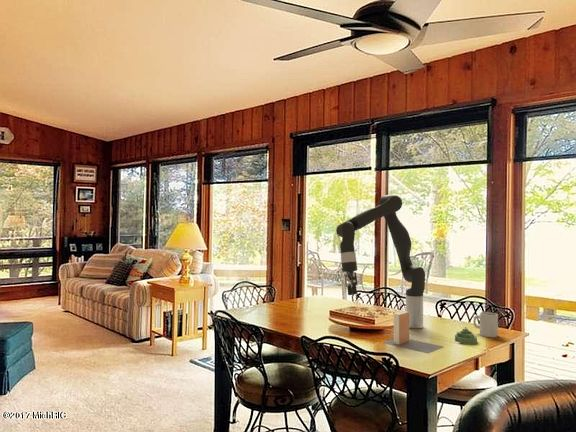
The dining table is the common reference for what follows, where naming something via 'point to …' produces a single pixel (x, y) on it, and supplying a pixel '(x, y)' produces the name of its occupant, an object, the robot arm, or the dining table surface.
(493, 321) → the mug
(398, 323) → the orange white box
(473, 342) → the decorative artifact
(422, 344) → the mat
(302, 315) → the dining table surface
